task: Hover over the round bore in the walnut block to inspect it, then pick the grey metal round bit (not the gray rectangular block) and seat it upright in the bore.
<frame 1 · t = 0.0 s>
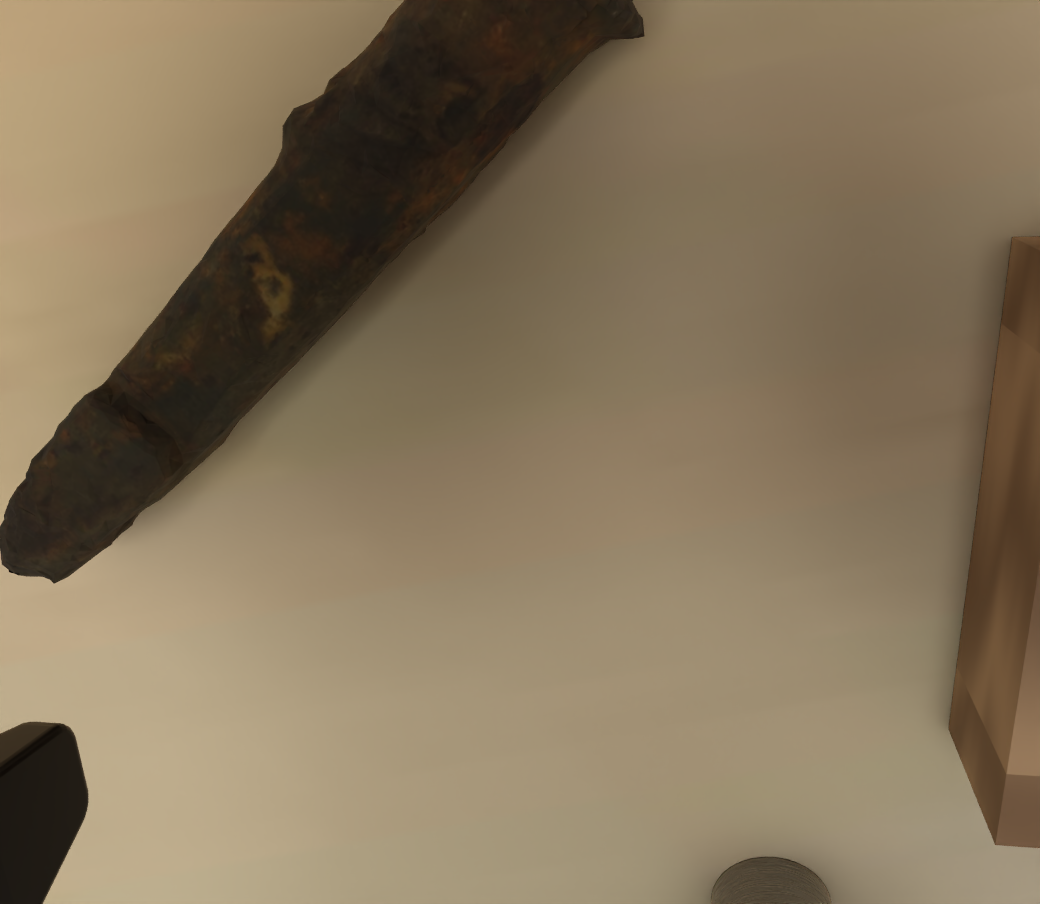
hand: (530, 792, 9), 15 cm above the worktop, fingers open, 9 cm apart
hand tool: (324, 288, 24), on the worktop
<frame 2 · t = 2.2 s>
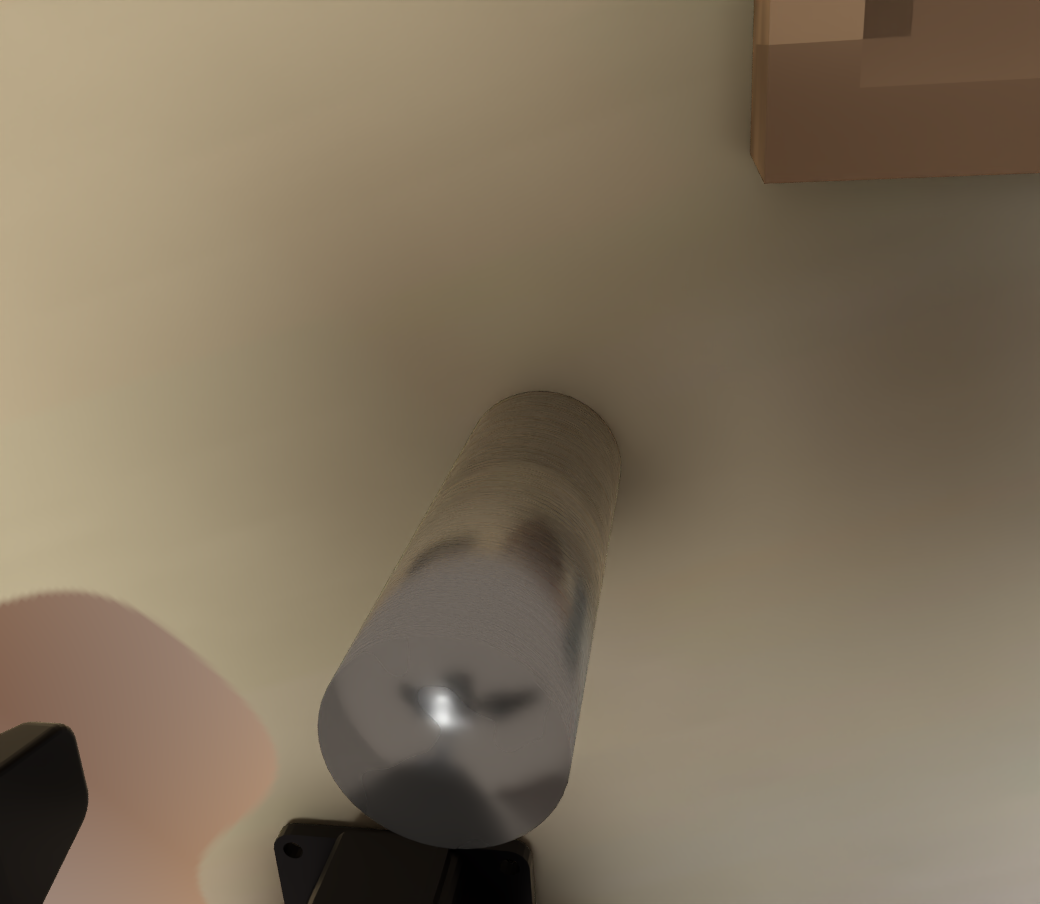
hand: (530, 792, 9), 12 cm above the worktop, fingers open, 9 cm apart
round bit: (543, 464, 21), on the worktop
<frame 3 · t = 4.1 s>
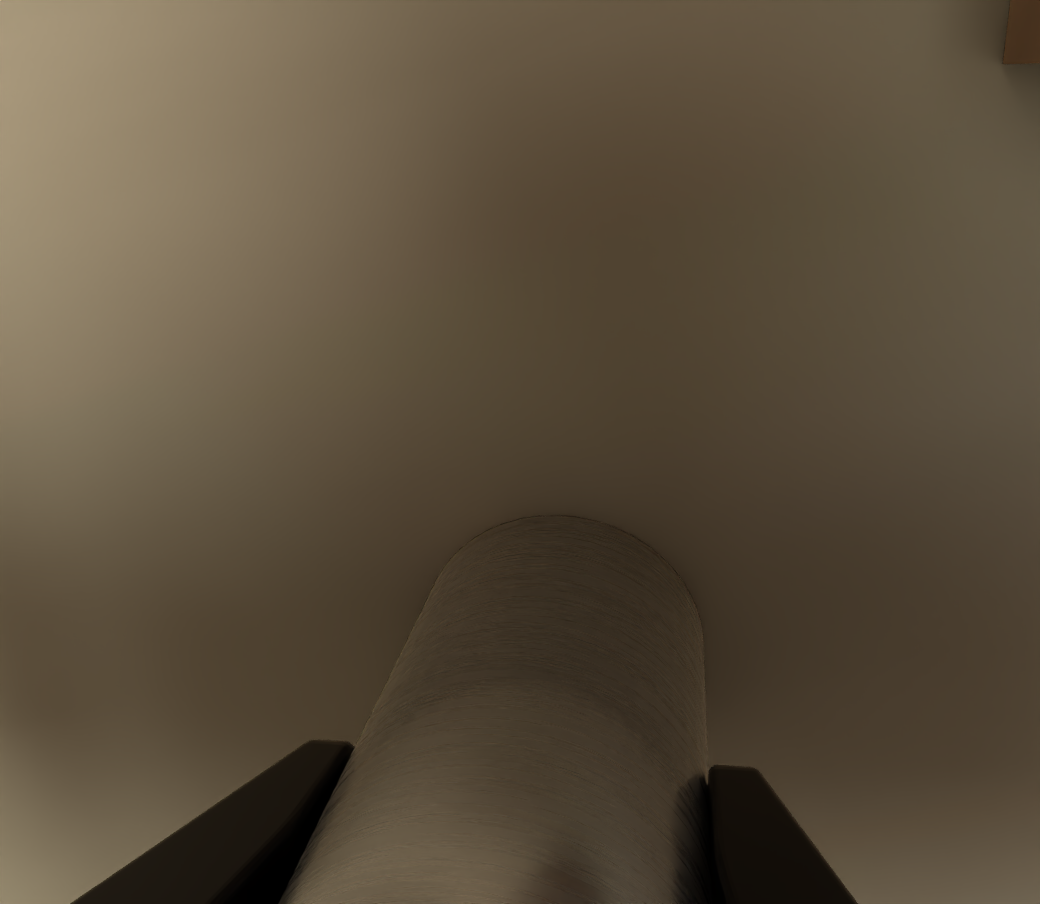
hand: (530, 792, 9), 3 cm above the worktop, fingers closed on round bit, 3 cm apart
round bit: (561, 643, 11), on the worktop, touching gripper
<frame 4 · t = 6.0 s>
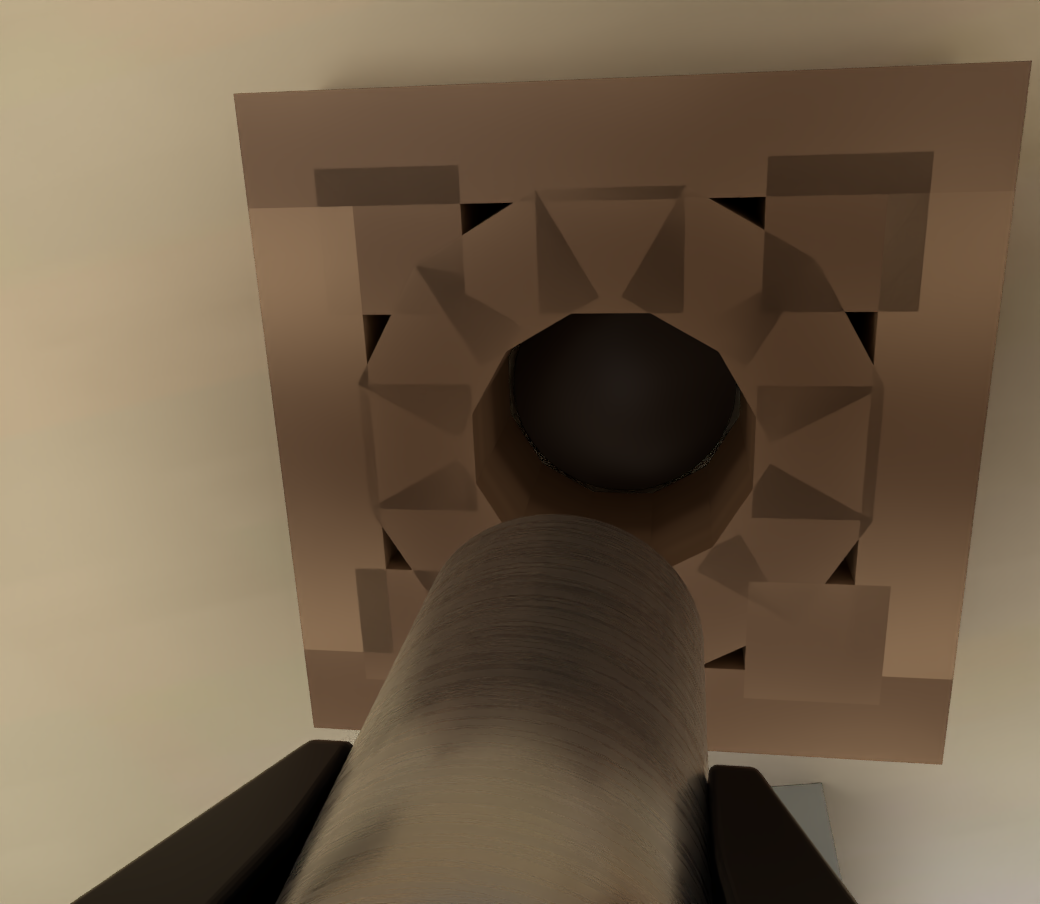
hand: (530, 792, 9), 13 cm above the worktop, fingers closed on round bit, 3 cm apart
gray rectangular block: (747, 856, 24), on the worktop
bore block: (623, 386, 21), on the worktop
round bit: (560, 642, 11), point 10 cm above the worktop, touching gripper
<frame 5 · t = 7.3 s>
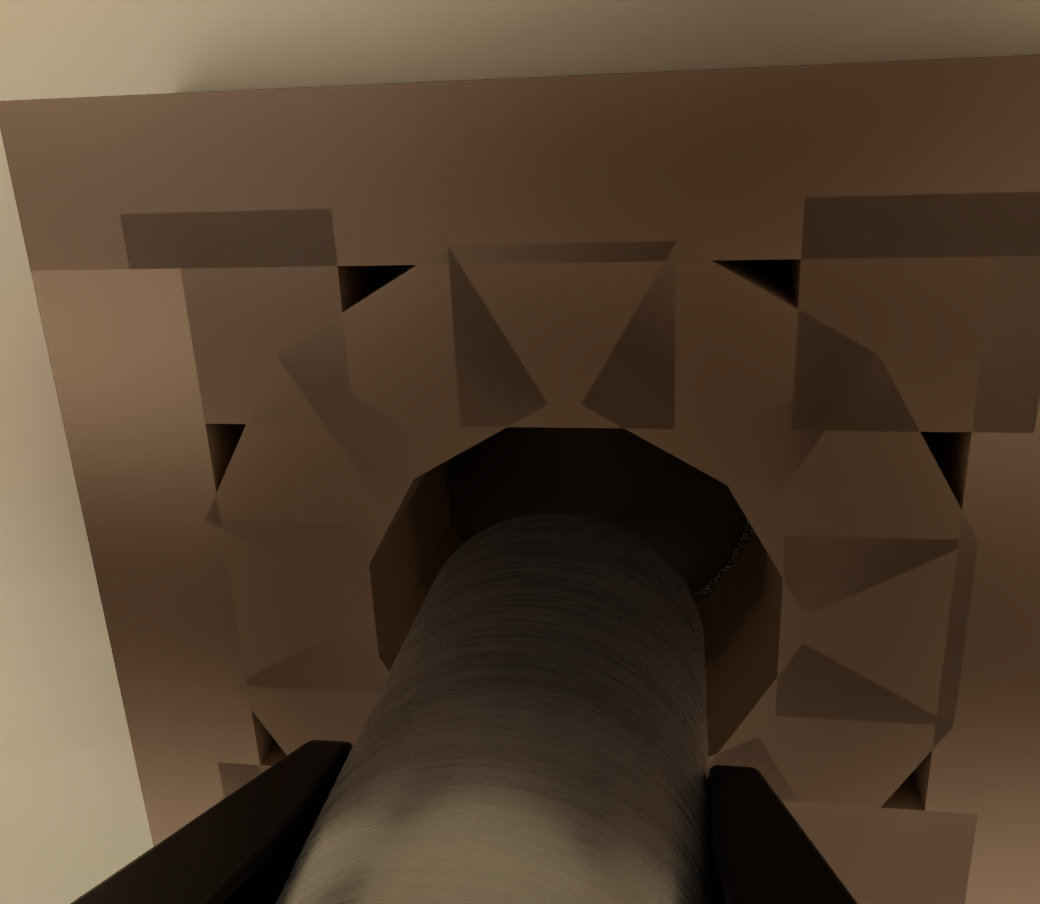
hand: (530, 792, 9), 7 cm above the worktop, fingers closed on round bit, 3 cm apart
bore block: (597, 488, 15), on the worktop
round bit: (561, 642, 11), point 4 cm above the worktop, touching gripper
when the fingers open (4 cm above the worktop, at t = 8.2 s): round bit drops 2 cm, resting on bore block.
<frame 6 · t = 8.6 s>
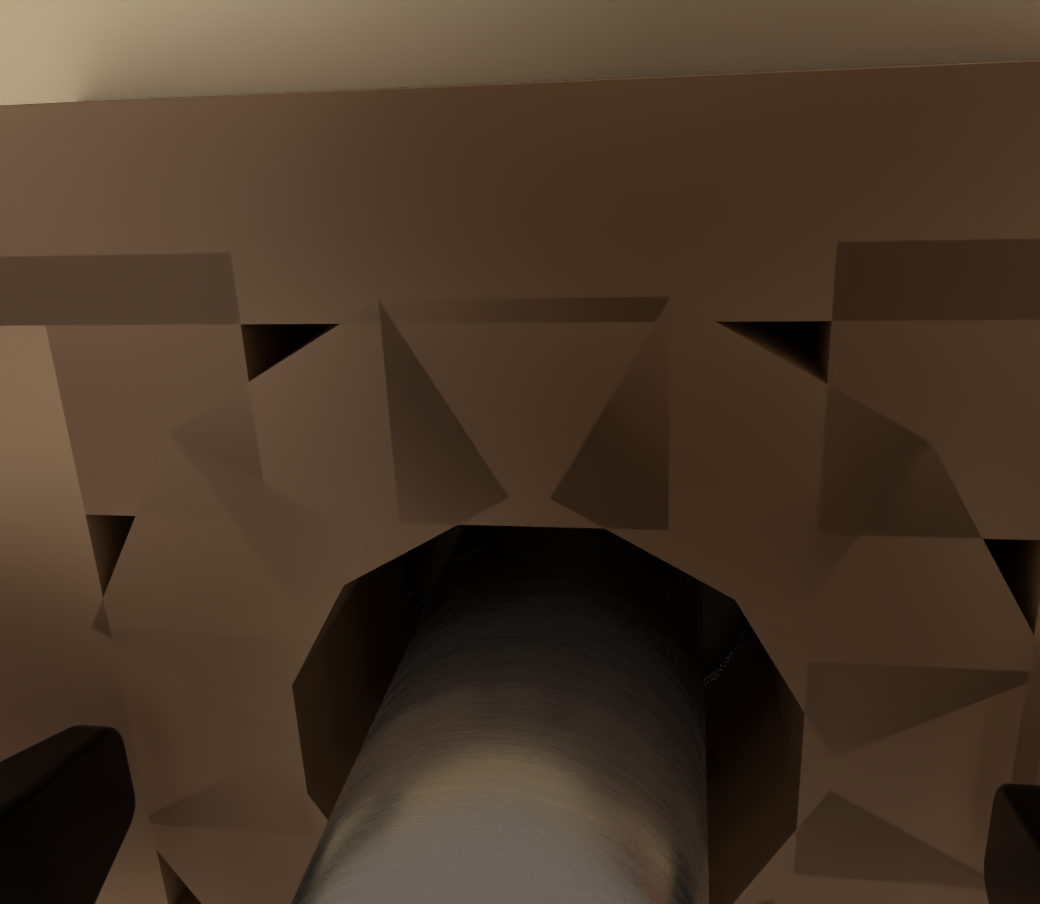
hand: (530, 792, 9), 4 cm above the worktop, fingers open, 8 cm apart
bore block: (580, 564, 13), on the worktop
round bit: (577, 568, 13), resting on bore block
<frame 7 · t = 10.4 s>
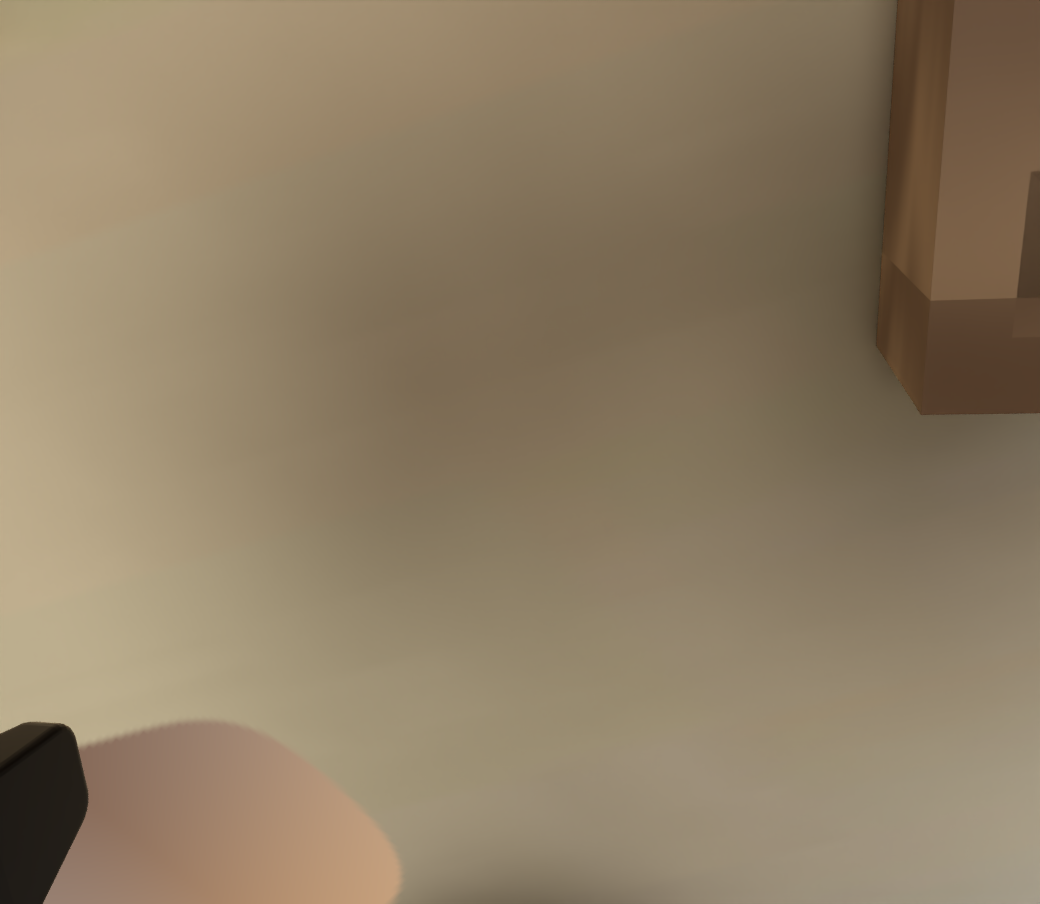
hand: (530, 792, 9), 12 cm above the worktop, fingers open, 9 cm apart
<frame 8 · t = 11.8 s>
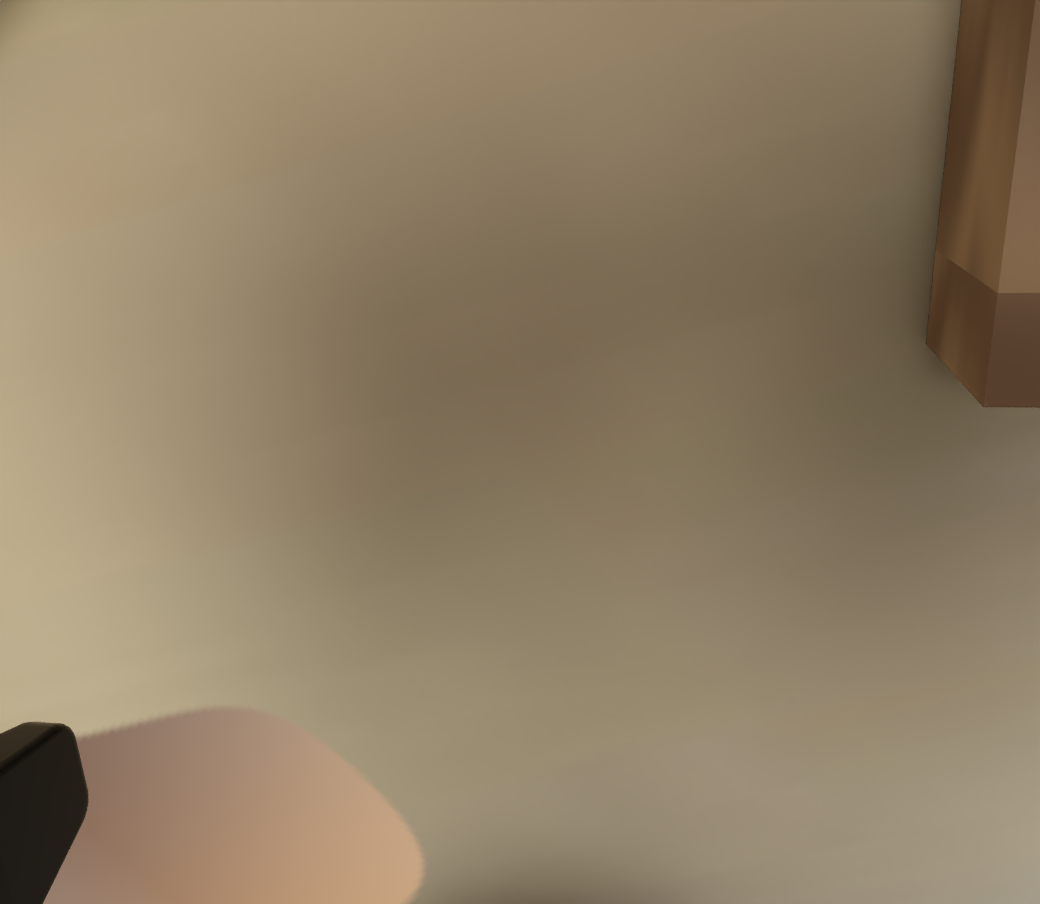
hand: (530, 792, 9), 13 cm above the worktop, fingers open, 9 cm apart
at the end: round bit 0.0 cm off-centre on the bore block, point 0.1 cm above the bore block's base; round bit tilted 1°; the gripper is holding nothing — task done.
